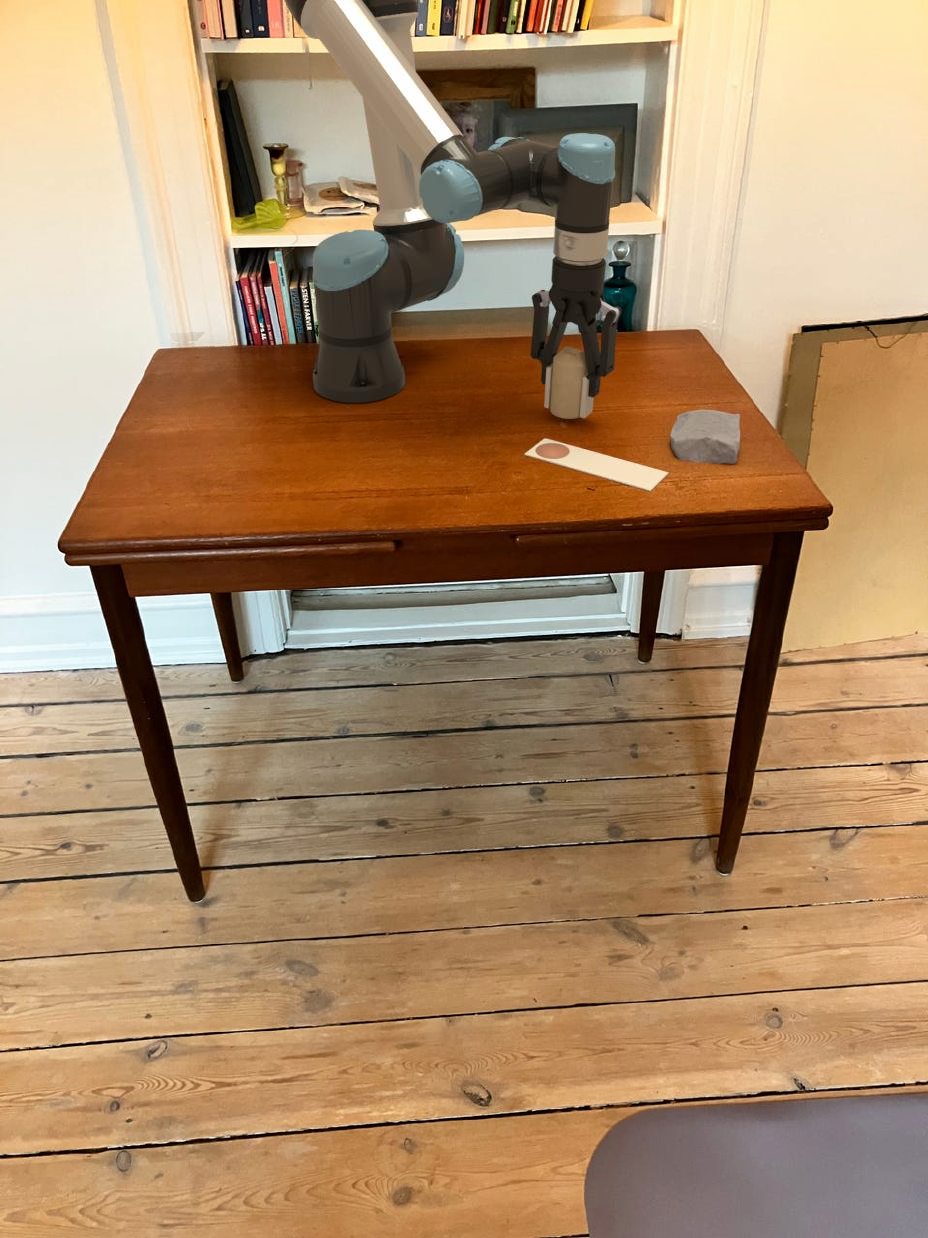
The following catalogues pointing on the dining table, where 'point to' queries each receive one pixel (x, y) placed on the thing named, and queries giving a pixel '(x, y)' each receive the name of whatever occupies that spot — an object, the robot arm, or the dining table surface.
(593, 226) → the robot arm
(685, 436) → the stone block
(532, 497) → the dining table surface
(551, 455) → the test strip
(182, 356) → the dining table surface
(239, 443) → the dining table surface
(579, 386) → the candle
